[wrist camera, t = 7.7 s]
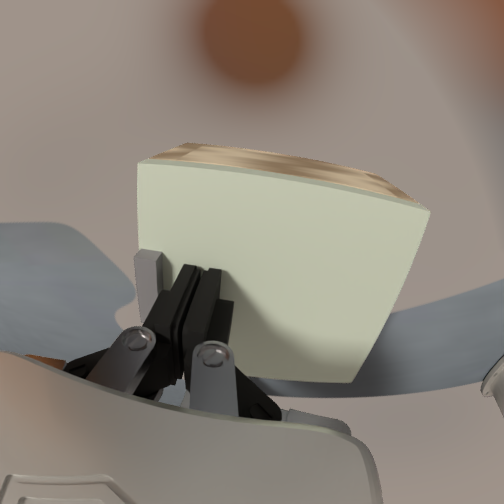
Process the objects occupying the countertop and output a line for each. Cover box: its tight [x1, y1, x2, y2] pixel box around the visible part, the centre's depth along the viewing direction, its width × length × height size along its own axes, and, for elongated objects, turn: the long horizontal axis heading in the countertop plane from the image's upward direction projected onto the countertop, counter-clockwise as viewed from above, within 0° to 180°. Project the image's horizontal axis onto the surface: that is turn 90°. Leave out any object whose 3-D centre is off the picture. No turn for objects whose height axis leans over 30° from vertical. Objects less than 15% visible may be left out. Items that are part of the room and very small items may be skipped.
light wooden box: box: [149, 143, 418, 203], centre depth 16 cm, size 12×11×6 cm
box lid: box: [134, 159, 431, 383], centre depth 13 cm, size 12×11×2 cm
